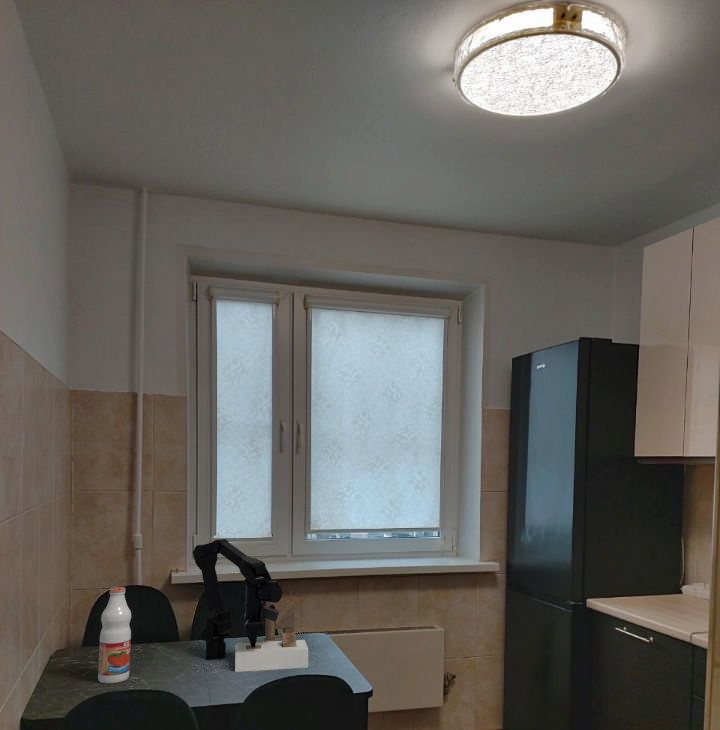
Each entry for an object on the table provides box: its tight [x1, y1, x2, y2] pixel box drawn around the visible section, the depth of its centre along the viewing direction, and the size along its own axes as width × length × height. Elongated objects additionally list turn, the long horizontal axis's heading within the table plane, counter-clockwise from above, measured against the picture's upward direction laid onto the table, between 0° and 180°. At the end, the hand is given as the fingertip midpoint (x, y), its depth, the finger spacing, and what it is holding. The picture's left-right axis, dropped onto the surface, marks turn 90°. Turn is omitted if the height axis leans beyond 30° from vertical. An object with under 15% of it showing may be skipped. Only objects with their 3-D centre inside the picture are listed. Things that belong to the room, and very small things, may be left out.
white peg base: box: [234, 639, 309, 673], centre depth 230 cm, size 24×12×6 cm, turn 101°
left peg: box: [247, 645, 260, 649], centre depth 229 cm, size 4×4×5 cm
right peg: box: [281, 631, 297, 647], centre depth 231 cm, size 4×4×5 cm
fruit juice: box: [97, 586, 132, 684], centre depth 216 cm, size 9×9×28 cm
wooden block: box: [263, 601, 295, 642], centre depth 251 cm, size 4×11×18 cm, turn 111°
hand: (253, 647), depth 229 cm, fingers closed, pressing on left peg
